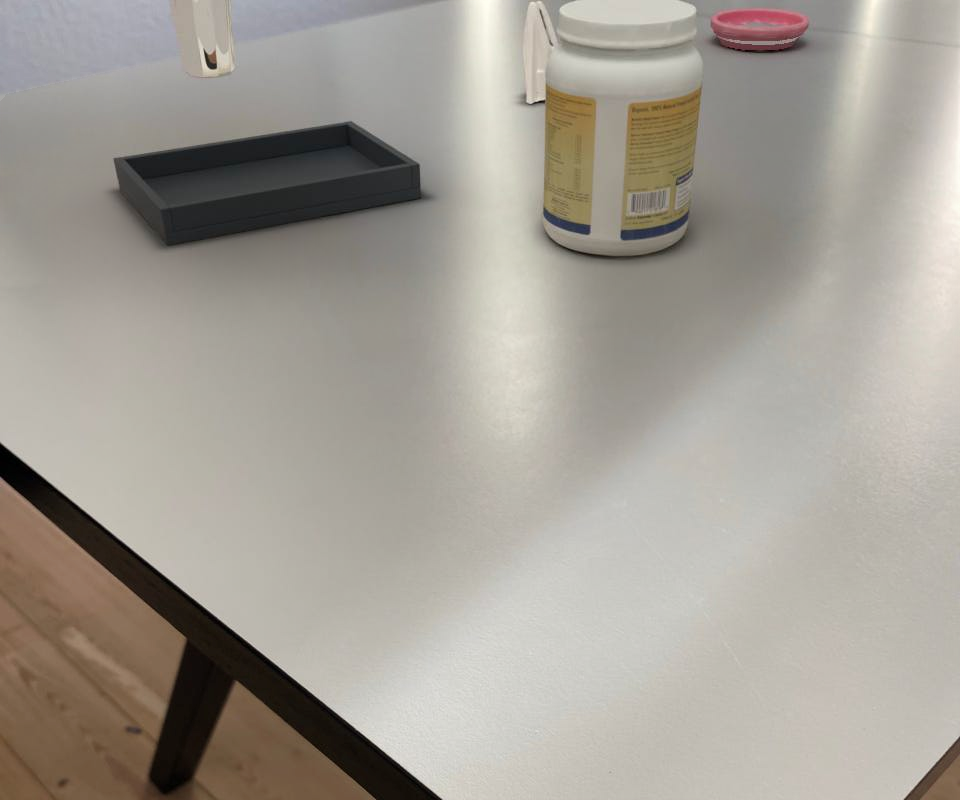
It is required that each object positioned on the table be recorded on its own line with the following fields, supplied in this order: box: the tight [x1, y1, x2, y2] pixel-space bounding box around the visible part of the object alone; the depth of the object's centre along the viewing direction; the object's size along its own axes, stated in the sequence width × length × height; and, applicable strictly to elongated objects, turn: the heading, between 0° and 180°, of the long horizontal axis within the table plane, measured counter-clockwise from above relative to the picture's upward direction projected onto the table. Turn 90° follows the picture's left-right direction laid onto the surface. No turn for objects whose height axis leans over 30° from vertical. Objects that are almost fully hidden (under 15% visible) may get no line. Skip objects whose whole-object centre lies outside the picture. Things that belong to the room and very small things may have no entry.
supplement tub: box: [542, 0, 704, 257], centre depth 89 cm, size 12×12×17 cm
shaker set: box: [522, 0, 559, 105], centre depth 125 cm, size 12×4×11 cm, turn 108°
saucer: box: [710, 8, 810, 51], centre depth 145 cm, size 12×12×3 cm
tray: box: [112, 120, 422, 246], centre depth 102 cm, size 24×16×3 cm, turn 118°
